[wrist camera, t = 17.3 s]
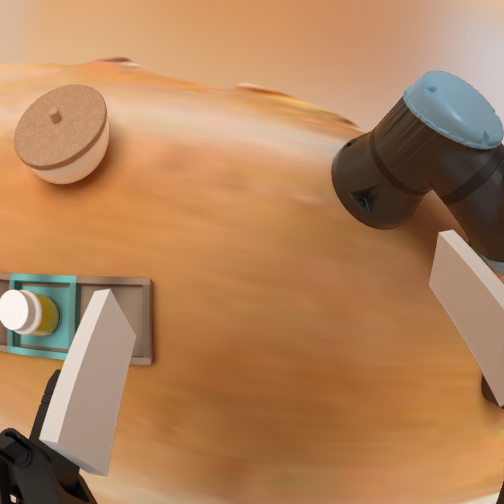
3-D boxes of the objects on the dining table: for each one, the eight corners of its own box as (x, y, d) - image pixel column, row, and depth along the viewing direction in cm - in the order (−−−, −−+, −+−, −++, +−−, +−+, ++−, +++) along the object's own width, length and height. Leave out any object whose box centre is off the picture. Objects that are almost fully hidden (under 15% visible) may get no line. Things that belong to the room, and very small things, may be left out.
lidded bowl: (24, 167, 37) (-7, 124, 26) (83, 111, 41) (68, 62, 30) (69, 216, 36) (38, 177, 26) (134, 152, 41) (124, 100, 30)
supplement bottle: (53, 290, 33) (22, 277, 25) (68, 326, 32) (38, 322, 24) (24, 307, 31) (-11, 297, 23) (38, 342, 30) (4, 341, 23)
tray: (-28, 344, 29) (-40, 343, 26) (-25, 275, 31) (-37, 270, 28) (153, 363, 34) (150, 365, 31) (152, 282, 37) (149, 277, 34)
